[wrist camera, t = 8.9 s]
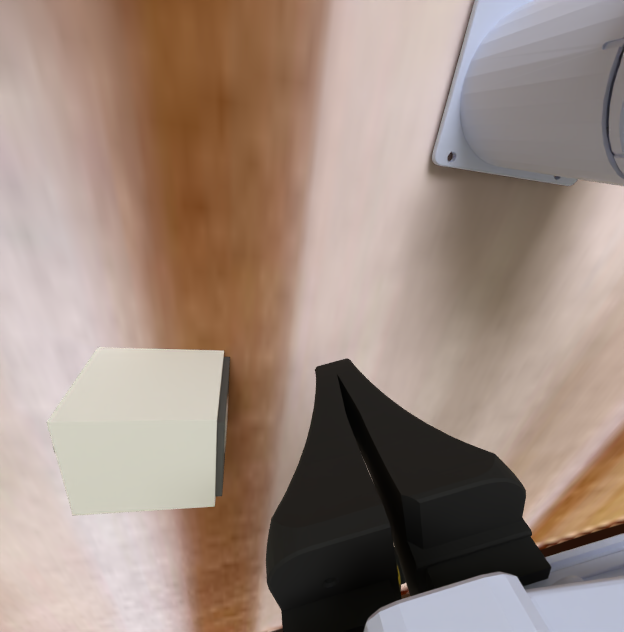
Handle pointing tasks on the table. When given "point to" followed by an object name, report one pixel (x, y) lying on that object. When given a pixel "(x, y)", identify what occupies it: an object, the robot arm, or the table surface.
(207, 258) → the table surface
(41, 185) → the table surface
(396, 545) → the robot arm
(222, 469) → the white block
